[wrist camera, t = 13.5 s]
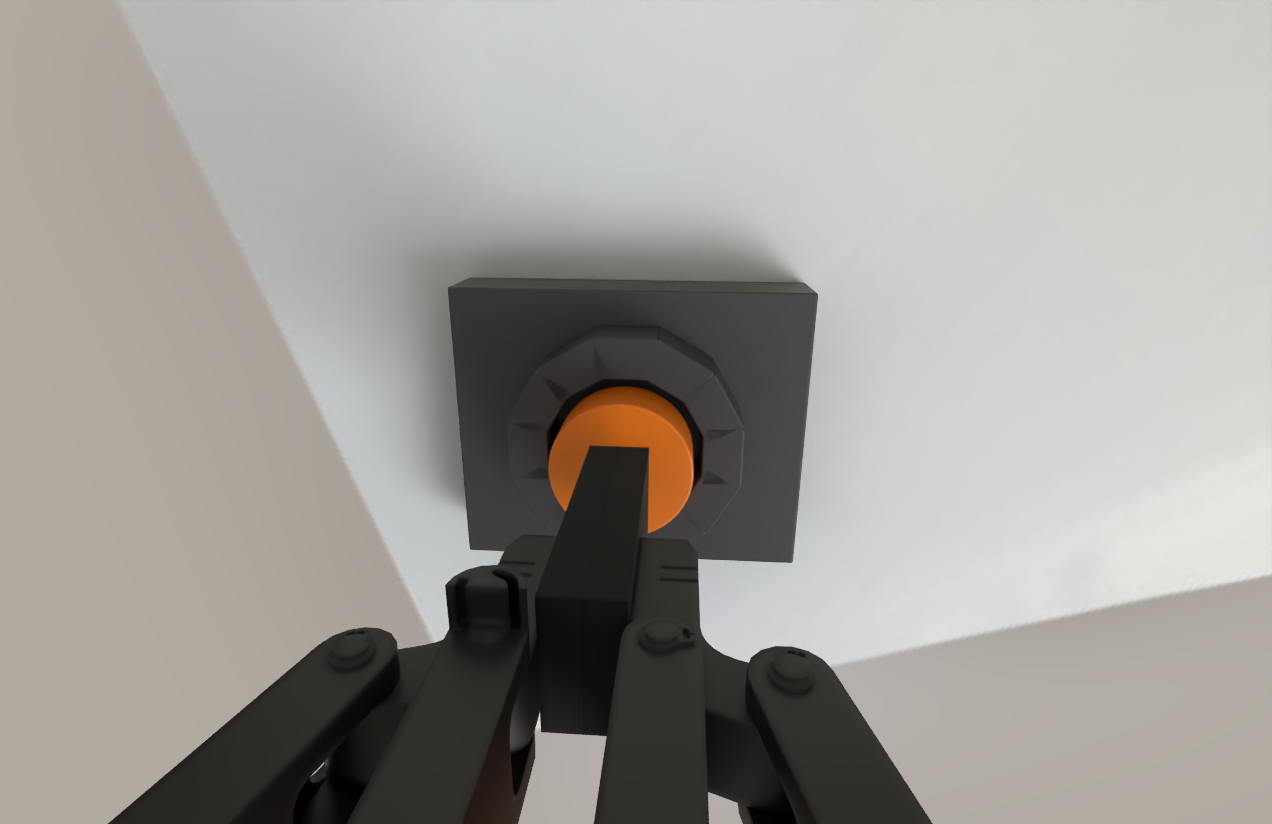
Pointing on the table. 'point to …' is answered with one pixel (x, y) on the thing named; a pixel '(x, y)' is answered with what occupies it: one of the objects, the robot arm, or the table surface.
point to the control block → (645, 358)
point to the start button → (628, 445)
